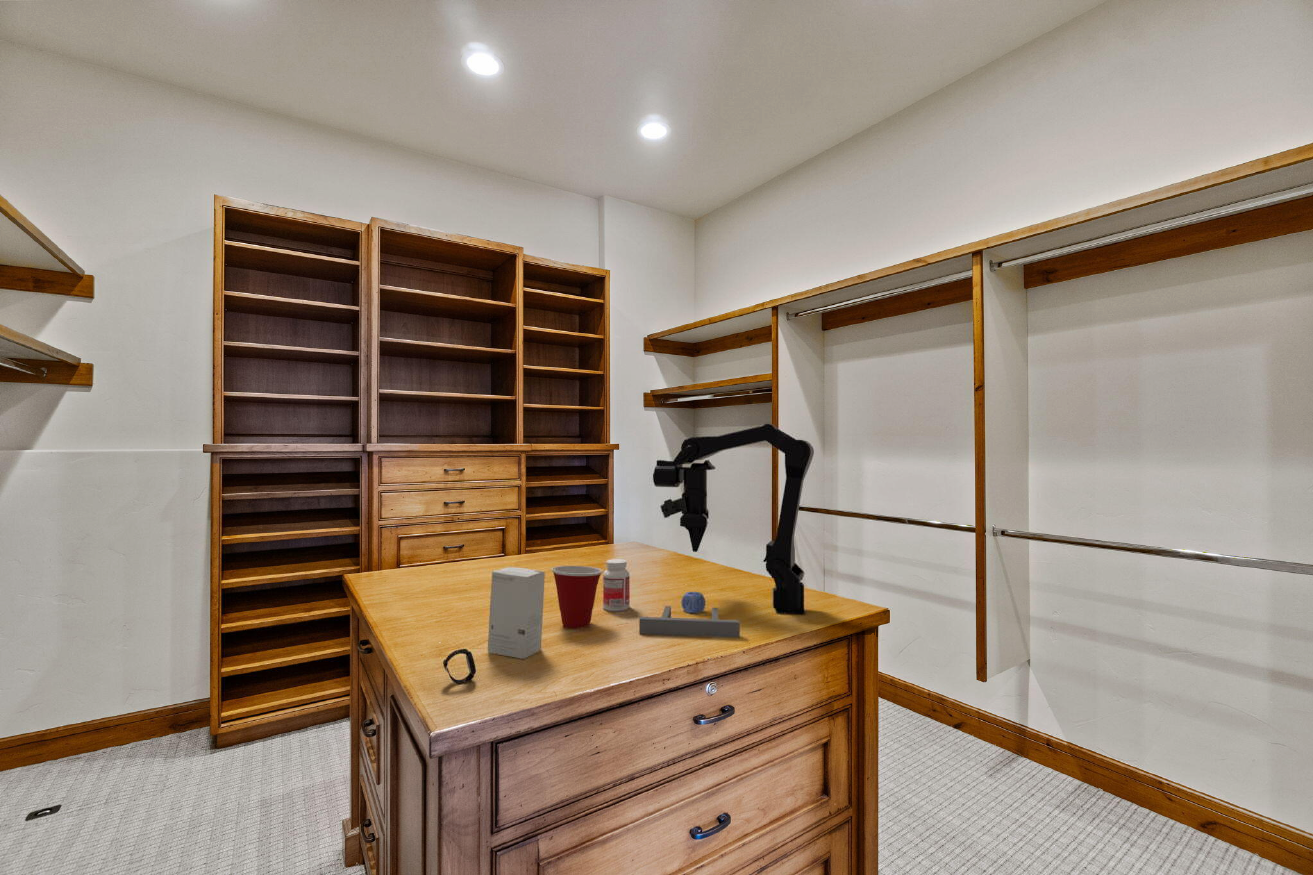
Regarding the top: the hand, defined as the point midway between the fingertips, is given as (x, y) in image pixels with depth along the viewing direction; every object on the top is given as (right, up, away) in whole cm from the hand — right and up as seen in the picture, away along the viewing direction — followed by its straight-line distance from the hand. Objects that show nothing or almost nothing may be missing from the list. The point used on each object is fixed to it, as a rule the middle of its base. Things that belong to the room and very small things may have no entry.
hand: (695, 551), depth 139 cm
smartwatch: (-41, -11, -49) cm, 65 cm away
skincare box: (-35, -11, -35) cm, 51 cm away
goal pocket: (-2, -12, -22) cm, 25 cm away
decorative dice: (-1, -12, -9) cm, 15 cm away
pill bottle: (-19, -12, -7) cm, 24 cm away
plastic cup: (-26, -12, -19) cm, 35 cm away
